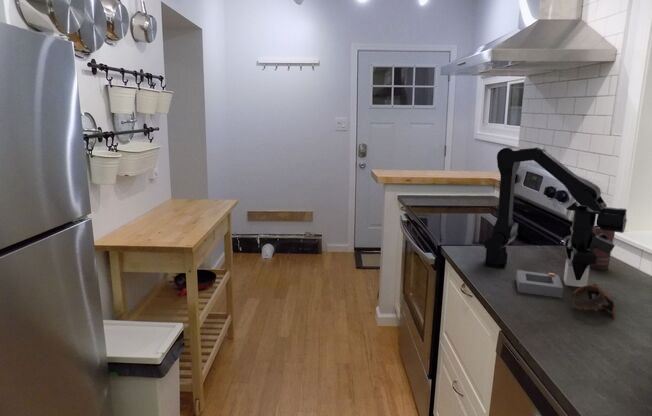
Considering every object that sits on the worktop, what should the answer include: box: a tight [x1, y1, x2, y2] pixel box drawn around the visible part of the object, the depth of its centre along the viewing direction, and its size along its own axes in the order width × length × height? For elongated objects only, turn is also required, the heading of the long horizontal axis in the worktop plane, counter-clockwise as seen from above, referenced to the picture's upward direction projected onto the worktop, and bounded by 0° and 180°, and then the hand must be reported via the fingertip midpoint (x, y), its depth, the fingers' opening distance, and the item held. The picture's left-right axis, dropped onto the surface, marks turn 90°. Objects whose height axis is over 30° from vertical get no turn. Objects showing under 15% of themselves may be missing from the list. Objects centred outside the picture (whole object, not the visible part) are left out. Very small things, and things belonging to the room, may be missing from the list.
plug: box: [563, 258, 591, 288], centre depth 138 cm, size 6×4×7 cm
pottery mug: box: [571, 283, 616, 319], centre depth 120 cm, size 12×10×8 cm
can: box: [589, 225, 616, 271], centre depth 152 cm, size 6×6×14 cm
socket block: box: [515, 269, 565, 299], centre depth 135 cm, size 12×10×4 cm
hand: (575, 275), depth 138 cm, fingers open, 7 cm apart
